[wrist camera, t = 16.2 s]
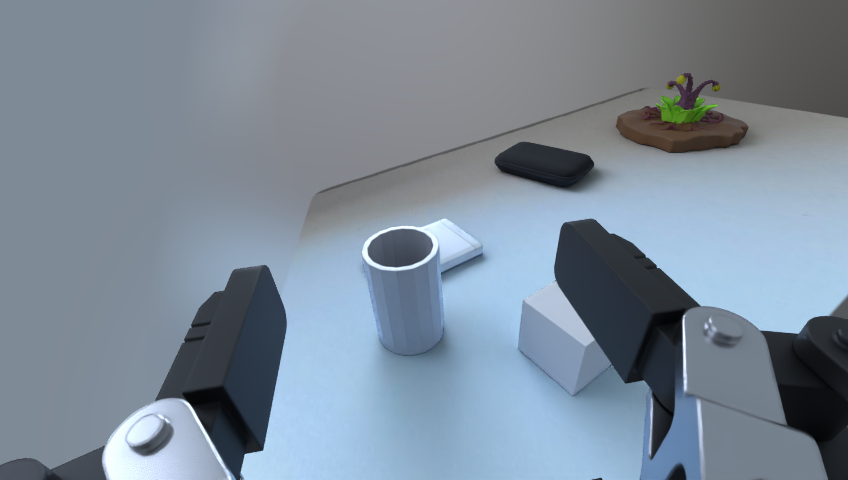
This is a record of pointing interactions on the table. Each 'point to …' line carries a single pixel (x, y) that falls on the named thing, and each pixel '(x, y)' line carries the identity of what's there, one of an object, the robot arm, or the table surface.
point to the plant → (682, 122)
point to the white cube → (559, 340)
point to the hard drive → (453, 243)
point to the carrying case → (544, 163)
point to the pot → (405, 288)
